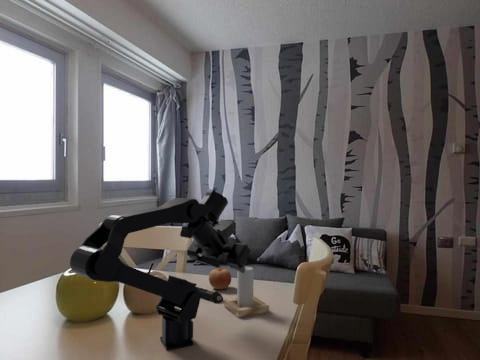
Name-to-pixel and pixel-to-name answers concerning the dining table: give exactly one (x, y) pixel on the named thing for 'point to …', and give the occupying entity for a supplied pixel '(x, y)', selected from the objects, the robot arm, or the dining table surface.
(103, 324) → the dining table surface
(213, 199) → the robot arm
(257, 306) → the socket block
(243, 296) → the beverage can
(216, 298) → the electric trimmer
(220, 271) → the apple
